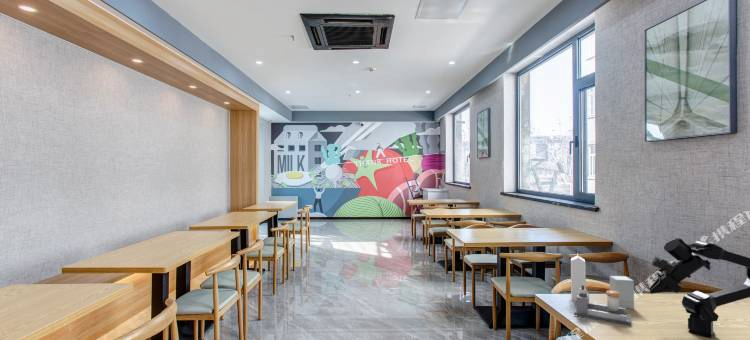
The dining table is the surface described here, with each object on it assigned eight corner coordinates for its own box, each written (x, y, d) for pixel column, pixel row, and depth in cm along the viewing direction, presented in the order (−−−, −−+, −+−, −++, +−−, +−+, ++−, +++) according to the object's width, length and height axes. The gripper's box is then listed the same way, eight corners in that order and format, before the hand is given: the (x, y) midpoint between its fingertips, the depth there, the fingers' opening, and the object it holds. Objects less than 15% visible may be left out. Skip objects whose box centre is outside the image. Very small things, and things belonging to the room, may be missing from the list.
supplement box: (634, 308, 166) (634, 280, 166) (616, 307, 167) (616, 279, 167) (626, 303, 173) (626, 276, 173) (609, 302, 174) (609, 275, 174)
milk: (571, 300, 177) (570, 254, 177) (571, 296, 183) (570, 251, 183) (586, 302, 175) (585, 255, 175) (585, 298, 180) (584, 252, 180)
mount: (630, 317, 156) (630, 298, 156) (630, 326, 147) (630, 305, 147) (576, 308, 167) (576, 290, 167) (574, 315, 158) (574, 296, 158)
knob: (620, 313, 156) (619, 291, 156) (620, 317, 151) (619, 295, 151) (606, 310, 159) (606, 289, 159) (606, 315, 154) (605, 293, 154)
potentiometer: (587, 294, 161) (587, 285, 161) (586, 296, 159) (586, 287, 159) (579, 293, 163) (578, 284, 163) (578, 295, 160) (578, 285, 161)
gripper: (664, 246, 153) (632, 269, 159) (669, 255, 137) (633, 280, 143) (689, 268, 149) (655, 291, 155) (697, 280, 133) (659, 304, 139)
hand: (650, 291), depth 148 cm, fingers open, 3 cm apart
